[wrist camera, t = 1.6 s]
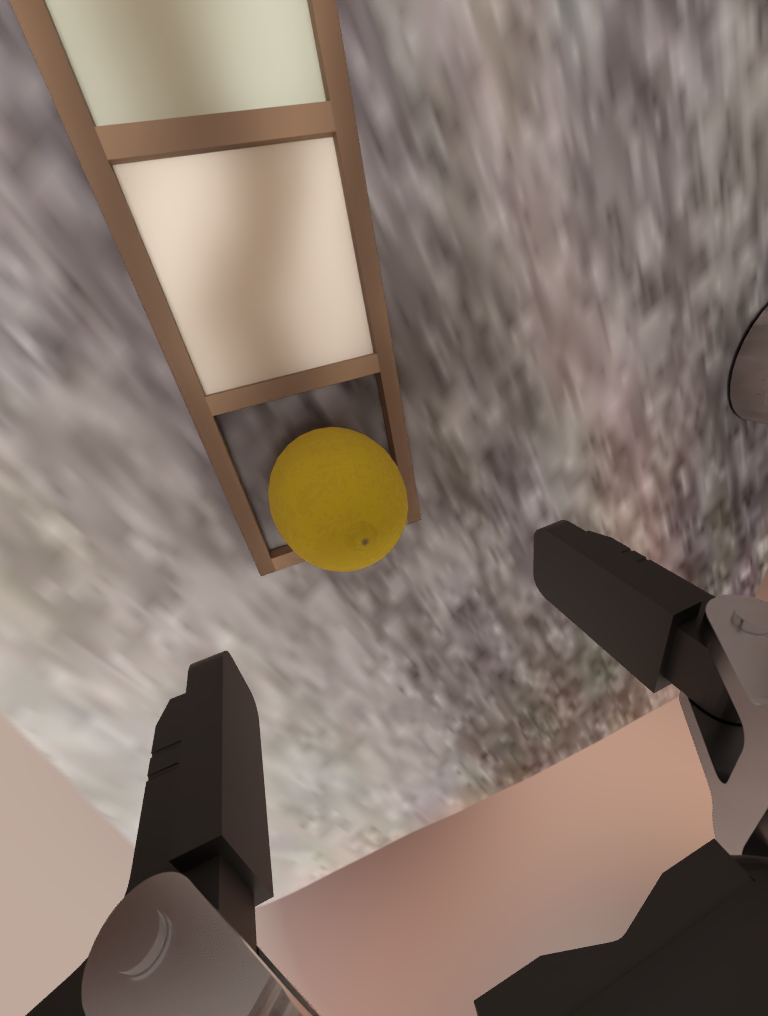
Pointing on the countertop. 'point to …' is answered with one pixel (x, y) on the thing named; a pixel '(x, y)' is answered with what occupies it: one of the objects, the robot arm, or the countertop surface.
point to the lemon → (337, 499)
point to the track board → (230, 201)
